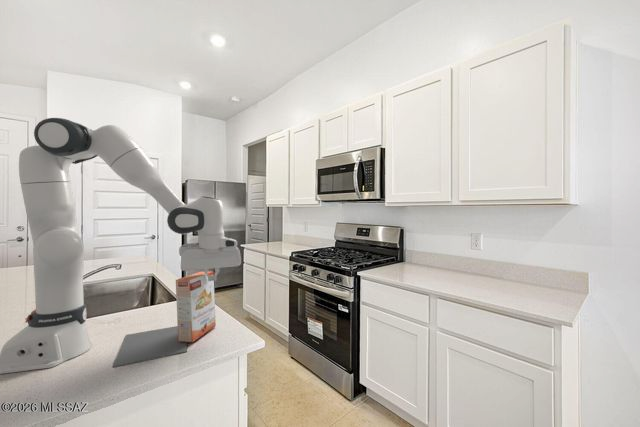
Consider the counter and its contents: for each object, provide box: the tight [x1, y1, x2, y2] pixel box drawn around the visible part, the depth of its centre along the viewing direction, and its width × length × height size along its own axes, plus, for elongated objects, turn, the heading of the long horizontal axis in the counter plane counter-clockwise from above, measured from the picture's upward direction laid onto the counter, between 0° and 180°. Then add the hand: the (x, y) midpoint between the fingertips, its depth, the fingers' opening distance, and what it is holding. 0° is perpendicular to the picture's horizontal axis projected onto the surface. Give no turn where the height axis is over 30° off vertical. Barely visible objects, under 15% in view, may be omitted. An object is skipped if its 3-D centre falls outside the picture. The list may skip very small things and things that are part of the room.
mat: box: [112, 325, 188, 368], centre depth 95 cm, size 19×22×1 cm
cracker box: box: [175, 270, 216, 343], centre depth 101 cm, size 14×6×21 cm, turn 168°
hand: (211, 280), depth 103 cm, fingers closed
